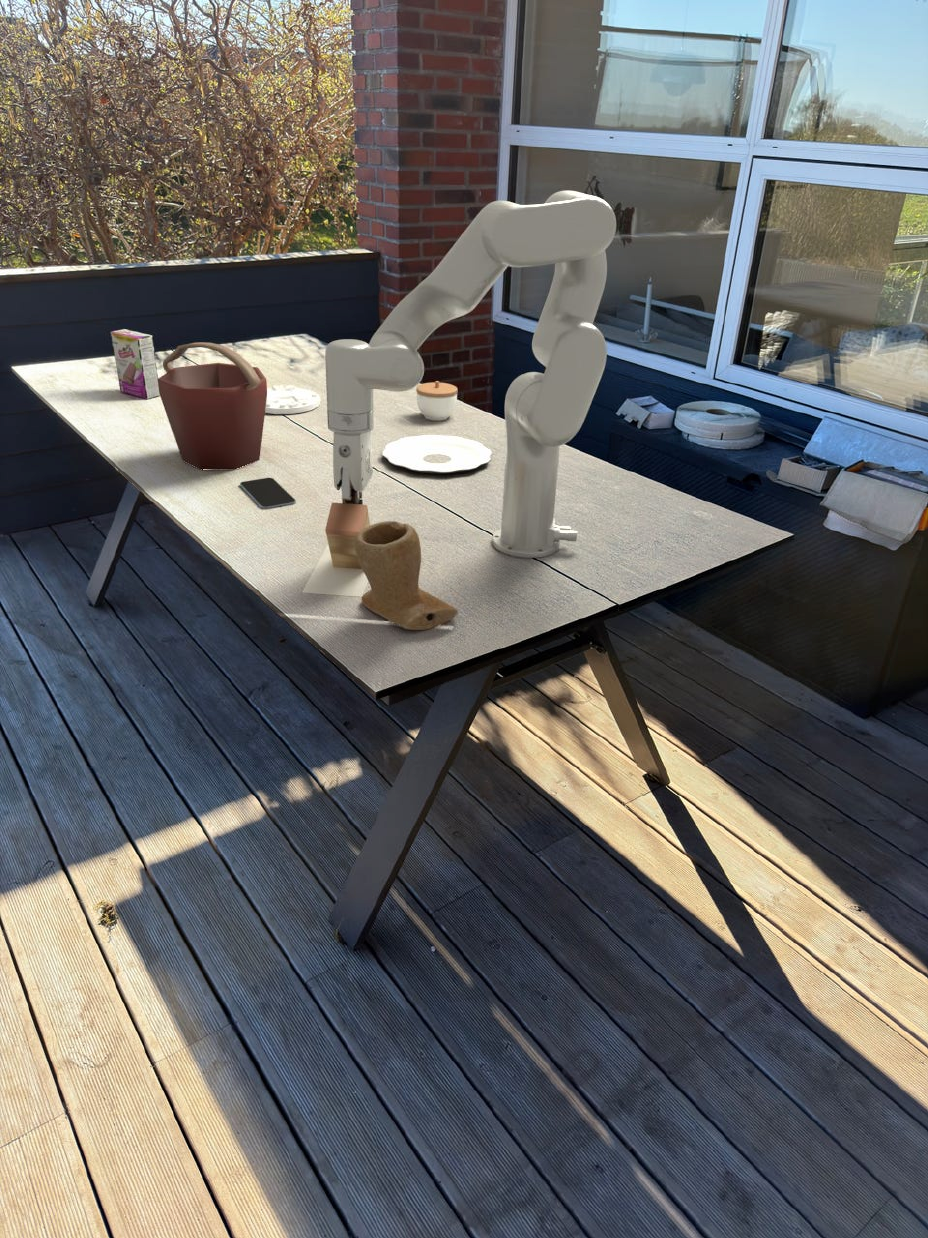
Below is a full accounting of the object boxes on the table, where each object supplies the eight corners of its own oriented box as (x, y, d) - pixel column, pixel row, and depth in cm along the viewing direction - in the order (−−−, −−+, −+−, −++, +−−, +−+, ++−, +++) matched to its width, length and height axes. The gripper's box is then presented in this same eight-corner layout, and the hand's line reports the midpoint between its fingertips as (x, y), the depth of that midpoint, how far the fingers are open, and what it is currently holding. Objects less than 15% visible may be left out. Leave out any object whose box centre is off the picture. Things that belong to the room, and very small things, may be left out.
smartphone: (262, 507, 177) (238, 482, 188) (262, 512, 177) (238, 486, 188) (297, 501, 180) (271, 476, 191) (297, 505, 181) (272, 480, 192)
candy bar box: (119, 392, 244) (109, 331, 236) (133, 389, 248) (124, 328, 239) (146, 400, 239) (137, 337, 231) (161, 396, 242) (153, 334, 234)
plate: (427, 435, 222) (427, 428, 221) (511, 457, 209) (512, 450, 208) (360, 461, 204) (360, 453, 203) (448, 487, 191) (448, 479, 191)
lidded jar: (439, 425, 228) (440, 389, 223) (407, 417, 233) (407, 381, 229) (464, 416, 235) (466, 381, 231) (433, 408, 241) (434, 373, 236)
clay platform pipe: (342, 608, 143) (338, 522, 136) (400, 587, 150) (400, 504, 143) (399, 647, 134) (399, 556, 126) (459, 622, 141) (462, 536, 133)
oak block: (372, 542, 158) (367, 504, 150) (367, 569, 154) (361, 532, 146) (339, 540, 158) (331, 502, 150) (333, 566, 155) (325, 529, 147)
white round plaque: (313, 418, 231) (312, 407, 230) (237, 415, 231) (236, 403, 230) (325, 396, 249) (324, 386, 247) (254, 393, 249) (254, 382, 247)
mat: (384, 543, 165) (384, 541, 165) (362, 599, 146) (361, 596, 146) (331, 539, 166) (331, 537, 165) (302, 595, 147) (301, 592, 146)
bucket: (151, 454, 203) (134, 341, 190) (233, 434, 217) (223, 328, 204) (212, 483, 188) (198, 364, 176) (296, 459, 203) (289, 347, 190)
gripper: (364, 434, 139) (365, 541, 148) (381, 407, 152) (382, 507, 161) (317, 431, 140) (321, 537, 149) (338, 404, 153) (341, 504, 162)
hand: (353, 521), depth 155 cm, fingers closed
